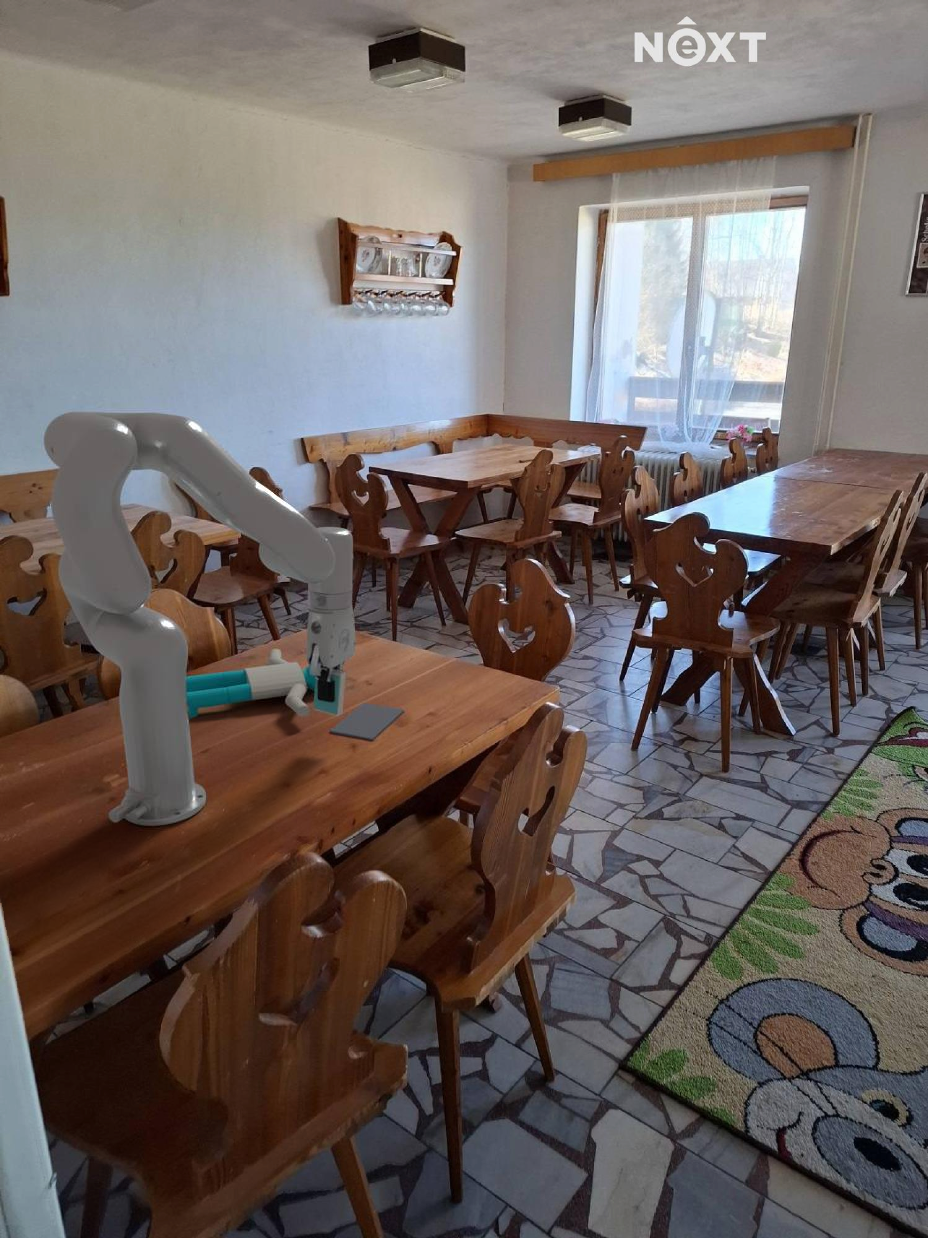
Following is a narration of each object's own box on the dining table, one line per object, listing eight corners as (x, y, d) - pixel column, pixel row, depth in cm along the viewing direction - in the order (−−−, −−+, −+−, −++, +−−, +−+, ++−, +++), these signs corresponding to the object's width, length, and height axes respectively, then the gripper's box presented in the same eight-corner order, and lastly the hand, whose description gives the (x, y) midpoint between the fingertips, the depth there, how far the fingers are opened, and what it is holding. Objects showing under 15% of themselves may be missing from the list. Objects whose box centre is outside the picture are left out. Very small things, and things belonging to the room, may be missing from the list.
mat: (372, 740, 156) (372, 738, 156) (329, 732, 159) (329, 730, 159) (404, 711, 168) (404, 709, 168) (363, 704, 171) (363, 702, 171)
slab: (336, 717, 151) (340, 675, 148) (312, 710, 152) (315, 668, 150) (342, 713, 152) (345, 672, 150) (318, 706, 154) (321, 665, 152)
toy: (194, 746, 154) (355, 720, 164) (190, 713, 152) (353, 689, 162) (183, 679, 185) (319, 661, 195) (179, 651, 183) (317, 634, 193)
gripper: (326, 613, 138) (326, 717, 143) (370, 592, 152) (368, 688, 157) (287, 606, 141) (287, 709, 146) (333, 587, 155) (332, 681, 160)
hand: (329, 698), depth 151 cm, fingers closed on slab, 1 cm apart
